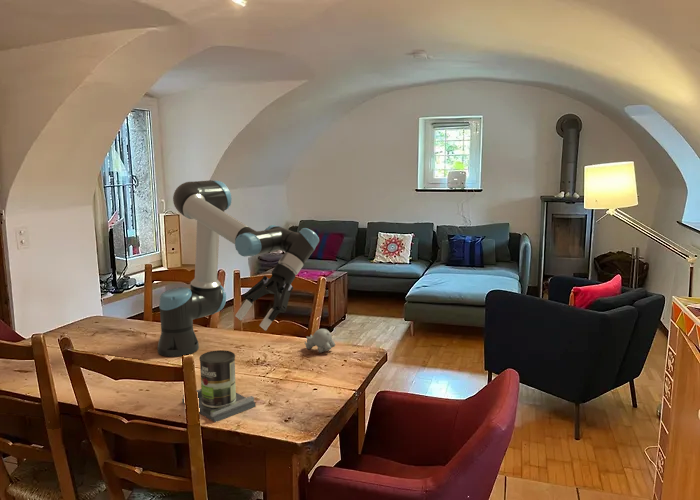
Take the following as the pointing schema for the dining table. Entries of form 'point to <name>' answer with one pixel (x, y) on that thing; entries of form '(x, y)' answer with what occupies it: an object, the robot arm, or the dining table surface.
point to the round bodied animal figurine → (320, 340)
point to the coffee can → (218, 378)
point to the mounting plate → (225, 407)
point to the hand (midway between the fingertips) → (249, 323)
